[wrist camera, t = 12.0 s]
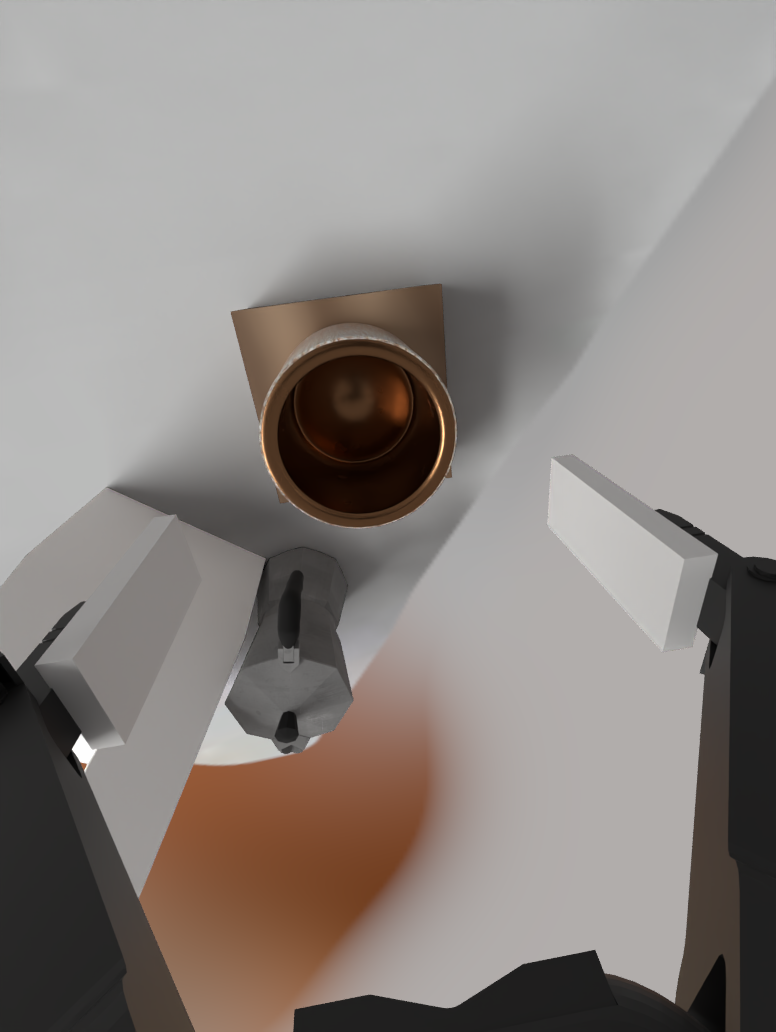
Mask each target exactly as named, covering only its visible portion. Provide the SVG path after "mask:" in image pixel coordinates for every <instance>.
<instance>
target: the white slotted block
mask: <svg viewBox="0 0 776 1032" xmlns="http://www.w3.org/2000/svg"><path fill="white" fill-rule="evenodd" d="M162 516H168V515H167V514H165V513H163V512H161V511H158V510H156V509H154V508H152V507H149V506H147V505H145V504H143V503H140V502H138V501H136V500H134V499H131V498H129V497H127V496H125V495H123V494H120V493H118V492H116V491H114V490H111V489H109V488H107V487H106V488H105V489H104V490H102V491H101V492H100V493H99V494H98V495H97V496H95V497H94V498H93V499H92V500H91V501H90V502H88V503H87V504H86V505H85V506H84V507H82V508H81V509H80V510H79V511H78V512H77V513H75V514H74V515H73V516H72V517H71V518H69V519H68V520H67V521H66V522H65V523H64V524H62V525H61V526H60V527H59V528H58V529H56V530H55V531H54V532H53V533H52V534H51V535H49V536H48V537H47V538H46V539H45V540H44V541H42V542H41V543H40V544H39V545H38V546H36V547H35V548H34V549H33V550H32V551H31V552H29V553H28V554H27V555H26V556H25V557H24V559H23V560H22V561H21V562H20V564H19V565H18V566H17V567H16V569H15V570H14V571H13V572H12V574H11V575H10V576H9V577H8V579H7V580H6V581H5V583H4V584H3V585H2V586H1V588H0V652H1V653H3V654H4V655H5V657H6V658H7V659H8V661H9V662H10V664H11V665H12V666H13V668H14V669H15V671H16V670H17V669H18V668H19V667H20V666H21V665H22V663H23V662H24V661H25V660H26V659H27V657H28V656H29V655H30V654H31V653H32V651H33V650H34V649H35V648H36V647H37V646H38V644H39V643H42V640H43V638H44V637H45V636H46V635H47V634H48V633H49V632H51V631H52V628H53V627H54V625H55V624H56V623H57V622H58V621H59V619H60V618H61V617H62V616H63V615H64V614H65V613H67V612H68V611H69V610H71V609H72V608H73V607H75V606H76V605H77V604H79V603H80V602H83V601H87V600H88V598H89V597H90V596H91V595H92V593H93V592H94V591H95V590H96V588H97V587H98V586H99V585H100V583H101V582H102V581H103V580H104V578H105V577H106V576H107V575H108V574H109V572H110V571H111V570H112V569H113V567H114V566H115V565H116V564H117V562H118V561H119V560H120V559H121V557H122V556H123V555H124V554H125V552H126V551H127V550H128V549H129V548H130V546H131V545H132V544H133V543H134V541H135V540H136V539H137V538H138V536H139V535H140V534H141V533H142V531H143V530H144V529H145V528H146V526H147V525H148V524H149V523H150V522H151V520H152V519H153V518H155V517H162ZM179 523H180V525H181V528H182V530H183V533H184V535H185V538H186V541H187V543H188V546H189V548H190V551H191V553H192V556H193V559H194V561H195V564H196V566H197V569H198V572H199V574H200V577H201V579H202V581H201V583H200V585H199V587H198V589H197V591H196V593H195V596H194V598H193V600H192V602H191V604H190V606H189V608H188V611H187V613H186V615H185V617H184V619H183V621H182V623H181V626H180V628H179V630H178V632H177V634H176V636H175V639H174V641H173V643H172V645H171V647H170V649H169V651H168V654H167V656H166V658H165V660H164V662H163V664H162V666H161V669H160V671H159V673H158V675H157V677H156V679H155V681H154V684H153V686H152V688H151V690H150V692H149V694H148V697H147V699H146V701H145V703H144V705H143V707H142V709H141V712H140V714H139V716H138V718H137V720H136V722H135V724H134V727H133V729H132V731H131V733H130V735H129V737H128V739H127V742H126V744H124V745H119V746H113V747H107V748H101V749H95V750H92V749H91V748H90V746H89V745H88V743H87V742H86V740H85V739H84V737H83V736H82V734H80V736H79V738H78V740H77V741H76V743H75V745H74V747H73V748H72V750H73V752H74V753H75V754H76V756H77V757H78V759H79V761H80V762H83V763H87V766H86V768H85V770H84V773H85V775H86V777H87V780H88V782H89V784H90V787H91V789H92V791H93V794H94V796H95V798H96V801H97V803H98V805H99V808H100V810H101V812H102V815H103V817H104V819H105V822H106V824H107V827H108V829H109V831H110V834H111V836H112V838H113V841H114V843H115V845H116V848H117V850H118V852H119V855H120V857H121V859H122V862H123V864H124V866H125V869H126V871H127V873H128V876H129V878H130V880H131V883H132V885H133V887H134V890H135V892H136V894H137V897H138V899H139V896H140V894H141V891H142V889H143V887H144V884H145V882H146V879H147V877H148V874H149V872H150V869H151V867H152V864H153V862H154V860H155V857H156V855H157V852H158V850H159V847H160V845H161V842H162V840H163V837H164V835H165V833H166V830H167V827H168V825H169V823H170V820H171V818H172V815H173V813H174V811H175V808H176V806H177V803H178V801H179V798H180V796H181V793H182V791H183V788H184V786H185V783H186V781H187V778H188V776H189V774H190V771H191V769H192V766H193V764H194V761H195V759H196V757H197V754H198V752H199V749H200V747H201V744H202V742H203V739H204V737H205V734H206V732H207V730H208V727H209V725H210V722H211V720H212V717H213V715H214V712H215V710H216V707H217V705H218V703H219V700H220V698H221V695H222V693H223V690H224V688H225V685H226V683H227V680H228V678H229V676H230V673H231V671H232V668H233V666H234V663H235V661H236V658H237V656H238V654H239V651H240V649H241V646H242V644H243V641H244V639H245V636H246V632H247V628H248V624H249V620H250V616H251V613H252V609H253V605H254V601H255V597H256V594H257V590H258V586H259V582H260V578H261V575H262V571H263V567H264V563H265V559H266V558H263V557H261V556H259V555H257V554H254V553H252V552H250V551H248V550H245V549H243V548H241V547H239V546H236V545H234V544H232V543H230V542H228V541H225V540H223V539H221V538H219V537H216V536H214V535H212V534H210V533H207V532H205V531H203V530H201V529H199V528H196V527H194V526H192V525H190V524H187V523H185V522H183V521H181V520H179Z"/></svg>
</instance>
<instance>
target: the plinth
mask: <svg viewBox="0 0 776 1032" xmlns="http://www.w3.org/2000/svg"><path fill="white" fill-rule="evenodd" d="M231 315H232V319H233V323H234V327H235V331H236V335H237V339H238V343H239V346H240V350H241V354H242V358H243V362H244V366H245V370H246V374H247V377H248V381H249V385H250V389H251V393H252V397H253V401H254V405H255V408H256V412H257V416H258V420H259V424H260V417H261V412H262V408H263V404H264V401H265V398H266V396H267V393H268V391H269V389H270V387H271V385H272V384H273V382H274V381H275V379H276V377H277V376H278V374H279V373H280V371H281V369H282V367H283V366H284V364H285V362H286V361H287V359H288V357H289V356H290V355H291V353H292V352H293V351H294V349H295V348H296V347H297V346H298V345H299V344H300V343H301V342H302V341H304V340H305V339H306V338H307V337H309V336H310V335H312V334H313V333H315V332H317V331H319V330H321V329H323V328H326V327H329V326H333V325H336V324H342V323H362V324H368V325H372V326H376V327H378V328H381V329H383V330H385V331H388V332H389V333H391V334H393V335H394V336H396V337H397V338H399V339H400V340H401V341H402V342H404V343H405V344H406V345H407V346H408V347H409V348H410V349H412V350H413V351H414V352H415V353H416V354H418V355H419V356H420V357H421V358H422V359H424V360H425V361H426V362H427V363H428V364H429V365H430V366H431V367H432V368H433V369H434V370H435V372H436V373H437V374H438V376H439V377H440V378H441V380H442V382H443V383H444V385H445V387H446V388H447V377H446V358H445V339H444V321H443V302H442V284H433V285H423V286H415V287H407V288H400V289H392V290H385V291H377V292H370V293H362V294H355V295H347V296H340V297H332V298H324V299H317V300H309V301H302V302H294V303H287V304H279V305H272V306H264V307H257V308H249V309H243V310H238V311H232V312H231ZM451 477H452V472H451V467H450V469H449V472H448V474H447V476H446V478H451ZM275 486H276V485H275ZM276 490H277V494H278V498H279V501H280V503H286V502H289V501H288V500H287V499H286V498H285V497H284V496H283V495H282V493H281V492H280V491H279V490H278V488H277V487H276Z"/></svg>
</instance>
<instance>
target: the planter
mask: <svg viewBox="0 0 776 1032" xmlns="http://www.w3.org/2000/svg"><path fill="white" fill-rule="evenodd" d="M259 441H260V448H261V453H262V457H263V461H264V464H265V466H266V469H267V471H268V473H269V475H270V477H271V479H272V481H273V482H274V484H275V485H276V487H277V488H278V490H279V491H280V492H281V493H282V495H283V496H284V497H285V498H286V499H287V500H288V501H289V502H290V503H291V504H292V505H294V506H295V507H296V508H298V509H299V510H300V511H302V512H303V513H305V514H307V515H308V516H310V517H312V518H314V519H316V520H318V521H321V522H323V523H326V524H329V525H333V526H337V527H343V528H355V529H361V528H373V527H378V526H383V525H387V524H390V523H393V522H395V521H398V520H400V519H402V518H404V517H406V516H408V515H409V514H411V513H413V512H414V511H416V510H417V509H419V508H420V507H421V506H422V505H424V504H425V503H426V502H427V501H428V500H429V499H430V498H431V497H432V496H433V495H434V493H435V492H436V491H437V490H438V488H439V487H440V486H441V484H442V483H443V481H444V479H445V478H446V476H447V474H448V472H449V469H450V467H451V464H452V461H453V458H454V454H455V450H456V444H457V420H456V414H455V410H454V406H453V403H452V400H451V397H450V395H449V392H448V390H447V388H446V387H445V385H444V383H443V382H442V380H441V378H440V377H439V376H438V374H437V373H436V372H435V370H434V369H433V368H432V367H431V366H430V365H429V364H428V363H427V362H426V361H425V360H424V359H422V358H421V357H420V356H419V355H418V354H416V353H415V352H414V351H413V350H412V349H410V348H409V347H408V346H407V345H406V344H405V343H404V342H402V341H401V340H400V339H399V338H397V337H396V336H394V335H393V334H391V333H389V332H388V331H385V330H383V329H381V328H378V327H376V326H372V325H368V324H362V323H342V324H336V325H333V326H329V327H326V328H323V329H321V330H319V331H317V332H315V333H313V334H312V335H310V336H309V337H307V338H306V339H305V340H304V341H302V342H301V343H300V344H299V345H298V346H297V347H296V348H295V349H294V351H293V352H292V353H291V355H290V356H289V357H288V359H287V361H286V362H285V364H284V366H283V367H282V369H281V371H280V373H279V374H278V376H277V377H276V379H275V381H274V382H273V384H272V385H271V387H270V389H269V391H268V393H267V396H266V398H265V401H264V404H263V408H262V412H261V417H260V424H259Z"/></svg>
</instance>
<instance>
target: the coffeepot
mask: <svg viewBox="0 0 776 1032" xmlns="http://www.w3.org/2000/svg"><path fill="white" fill-rule="evenodd" d="M347 587H348V585H347V583H346V581H345V578H344V575H343V573H342V570H341V569H340V567H339V565H338V563H337V561H336V559H334V558H332V557H330V556H328V555H326V554H324V553H321V552H319V551H315V550H312V549H307V548H304V547H302V548H298V549H294V550H290V551H286V552H284V553H281V554H279V555H278V556H275V557H272V558H270V559H269V561H268V563H267V565H266V567H265V569H264V572H263V574H262V576H261V578H260V582H259V586H258V590H257V597H258V625H259V629H258V631H257V633H256V635H255V638H254V640H253V642H252V644H251V647H250V649H249V651H248V653H247V655H246V658H245V660H244V662H243V664H242V667H241V669H240V671H239V673H238V675H237V678H236V680H235V682H234V684H233V687H232V689H231V691H230V693H229V695H228V697H227V699H226V701H225V705H226V707H227V708H228V709H229V711H230V712H231V713H232V715H233V716H234V717H235V719H236V720H237V721H238V723H239V724H240V725H241V727H242V728H243V729H244V731H245V732H246V733H247V734H250V735H255V736H259V737H263V738H268V739H272V741H273V743H274V744H275V746H276V747H277V749H278V750H280V752H281V753H284V754H288V753H290V752H294V753H300V752H302V751H303V750H304V749H305V747H306V745H307V743H308V741H309V739H310V738H311V737H315V736H318V735H321V734H324V733H328V732H331V731H334V730H335V728H336V726H337V725H338V723H339V722H340V720H341V719H342V717H343V716H344V714H345V713H346V711H347V709H348V708H349V706H350V705H351V703H352V702H353V697H352V692H351V687H350V683H349V678H348V674H347V669H346V665H345V660H344V655H343V651H342V646H341V642H340V639H339V637H338V635H337V633H336V629H337V627H338V624H339V621H340V617H341V612H342V608H343V604H344V600H345V596H346V592H347Z"/></svg>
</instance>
